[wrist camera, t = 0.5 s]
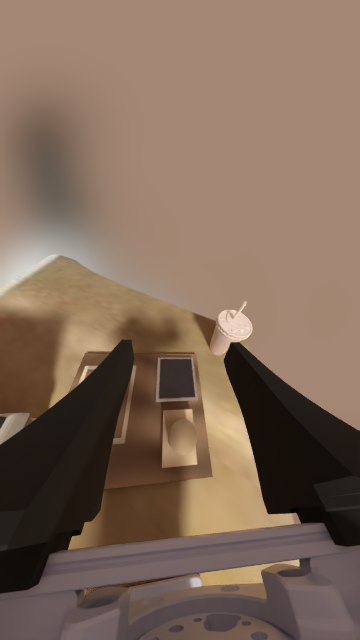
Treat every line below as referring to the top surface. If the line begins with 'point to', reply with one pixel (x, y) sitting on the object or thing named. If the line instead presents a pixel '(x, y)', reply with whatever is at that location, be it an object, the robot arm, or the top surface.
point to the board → (148, 427)
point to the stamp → (178, 438)
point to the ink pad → (176, 380)
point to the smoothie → (230, 329)
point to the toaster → (13, 424)
